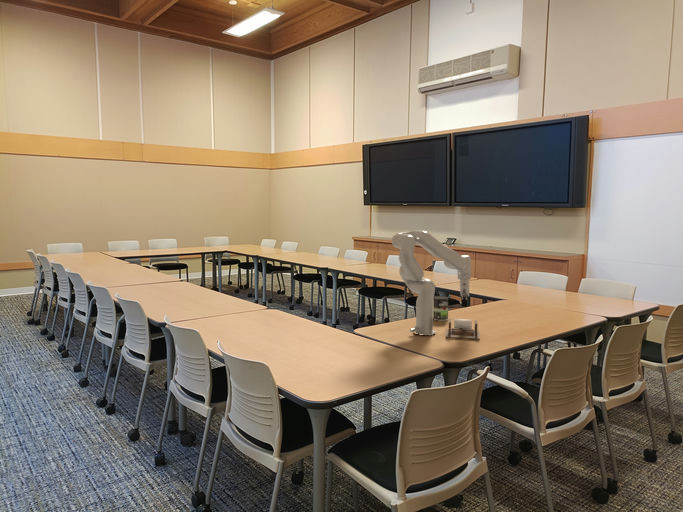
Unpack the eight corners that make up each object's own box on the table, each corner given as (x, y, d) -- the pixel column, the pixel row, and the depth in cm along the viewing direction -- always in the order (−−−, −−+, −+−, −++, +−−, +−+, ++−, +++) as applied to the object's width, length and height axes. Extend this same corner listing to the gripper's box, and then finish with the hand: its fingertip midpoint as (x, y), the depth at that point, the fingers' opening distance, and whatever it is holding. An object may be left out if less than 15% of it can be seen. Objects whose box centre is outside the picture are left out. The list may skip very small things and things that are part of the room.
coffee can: (451, 320, 303) (451, 298, 301) (437, 321, 299) (438, 299, 297) (442, 316, 312) (442, 295, 310) (428, 318, 308) (429, 296, 307)
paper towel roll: (454, 330, 283) (454, 322, 280) (454, 324, 287) (454, 317, 285) (471, 331, 280) (471, 323, 278) (471, 325, 285) (471, 317, 282)
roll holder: (445, 338, 262) (446, 324, 261) (446, 330, 277) (446, 317, 276) (479, 340, 258) (480, 325, 257) (478, 332, 273) (479, 318, 272)
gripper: (471, 279, 271) (471, 308, 273) (470, 274, 288) (470, 301, 290) (457, 278, 273) (457, 308, 275) (457, 273, 290) (457, 301, 292)
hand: (464, 304), depth 282 cm, fingers open, 9 cm apart
